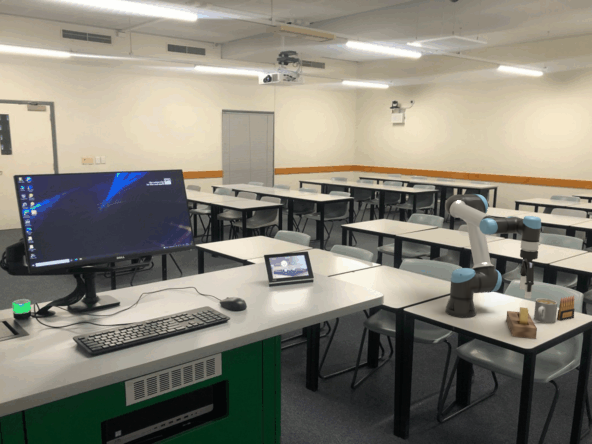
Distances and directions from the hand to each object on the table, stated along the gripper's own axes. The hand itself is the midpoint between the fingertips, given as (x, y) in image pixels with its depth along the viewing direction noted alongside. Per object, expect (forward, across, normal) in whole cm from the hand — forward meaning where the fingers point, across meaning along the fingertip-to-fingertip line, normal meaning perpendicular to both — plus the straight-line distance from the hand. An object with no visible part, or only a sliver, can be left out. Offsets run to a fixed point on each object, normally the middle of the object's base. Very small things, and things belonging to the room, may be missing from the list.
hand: (525, 293), depth 235 cm
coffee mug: (+20, +20, -13) cm, 31 cm away
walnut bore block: (+19, +4, 0) cm, 20 cm away
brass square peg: (+19, 0, 0) cm, 19 cm away
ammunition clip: (+20, +27, -25) cm, 42 cm away
